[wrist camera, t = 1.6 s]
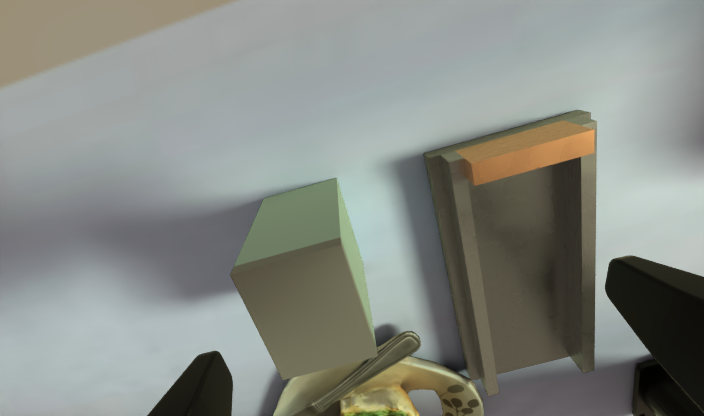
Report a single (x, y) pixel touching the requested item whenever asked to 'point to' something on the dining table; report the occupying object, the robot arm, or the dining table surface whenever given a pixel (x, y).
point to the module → (306, 282)
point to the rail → (520, 243)
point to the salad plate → (380, 386)
